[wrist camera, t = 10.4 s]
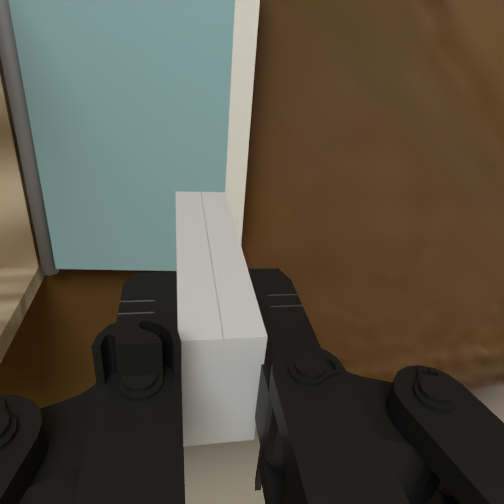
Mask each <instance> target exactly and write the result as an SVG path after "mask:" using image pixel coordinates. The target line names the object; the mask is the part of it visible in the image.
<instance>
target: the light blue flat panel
mask: <svg viewBox="0 0 504 504" xmlns="http://www.w3.org/2000/svg"><path fill="white" fill-rule="evenodd" d="M259 5H260V0H0V56H1V61H2V66H3V72H4V77H5V82H6V87H7V92H8V97H9V102H10V107H11V112H12V118H13V123H14V128H15V133H16V138H17V143H18V148H19V153H20V159H21V164H22V169H23V174H24V179H25V184H26V189H27V194H28V199H29V205H30V210H31V215H32V220H33V225H34V230H35V235H36V240H37V246H38V251H39V256H40V261H41V266H42V271H43V274H44V275H48V276H50V275H55V274H57V273H59V271H60V269H86V270H147V271H176V192H175V191H182V192H225V193H226V196H227V200H228V203H229V207H230V210H231V214H232V217H233V220H234V224H235V227H236V231H237V234H238V238H239V241H240V244H241V240H242V227H243V213H244V200H245V187H246V174H247V161H248V148H249V135H250V122H251V109H252V96H253V83H254V70H255V57H256V44H257V31H258V18H259Z"/></svg>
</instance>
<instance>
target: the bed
mask: <svg viewBox="0 0 504 504" xmlns="http://www.w3.org/2000/svg"><path fill="white" fill-rule="evenodd" d="M44 277H45V275H44V274H43V271H42V266H41V261H40V256H39V251H38V246H37V240H36V235H35V230H34V225H33V220H32V215H31V210H30V205H29V199H28V194H27V189H26V184H25V179H24V174H23V169H22V164H21V159H20V153H19V148H18V143H17V138H16V133H15V128H14V123H13V118H12V112H11V107H10V102H9V97H8V92H7V87H6V82H5V77H4V72H3V66H2V61H1V56H0V363H1V361H2V359H3V357H4V356H5V354H6V352H7V350H8V348H9V346H10V344H11V342H12V340H13V338H14V336H15V334H16V332H17V330H18V328H19V326H20V324H21V322H22V320H23V318H24V316H25V314H26V312H27V310H28V308H29V306H30V304H31V303H32V301H33V299H34V297H35V295H36V293H37V291H38V289H39V287H40V285H41V283H42V281H43V279H44Z"/></svg>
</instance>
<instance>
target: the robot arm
mask: <svg viewBox="0 0 504 504" xmlns="http://www.w3.org/2000/svg"><path fill="white" fill-rule="evenodd" d="M175 192H176V272H144V273H134V274H133V275H132V276H131V277H130V278H129V279H128V280H127V282H126V283H125V284H124V285H123V289H122V294H121V303H120V305H119V311H118V317H117V322H116V323H113V324H111V325H109V326H108V327H106V328H105V329H104V330H103V331H102V332H100V333H99V334H98V335H97V337H96V339H95V341H94V342H93V344H92V346H91V347H92V353H93V360H94V367H95V374H96V381H97V383H96V384H95V385H94V386H92V387H91V388H90V389H88V390H87V391H85V392H83V393H82V394H80V395H78V396H75V397H73V398H71V399H68V400H65V401H62V402H59V403H56V404H53V405H50V406H47V407H44V408H41V409H40V408H39V407H38V406H37V405H36V404H35V403H34V402H33V401H32V400H30V399H27V398H24V397H20V396H17V395H13V396H0V504H185V484H184V452H183V451H184V449H183V447H184V446H194V445H204V444H215V443H224V442H234V441H235V442H236V441H246V440H254V435H255V428H256V426H257V431H258V436H259V441H260V451H259V457H258V465H257V471H256V478H255V490H261V484H262V488H263V493H264V498H265V504H504V423H503V422H502V421H501V420H500V419H499V418H498V417H497V416H496V415H495V414H493V413H492V412H491V411H490V410H489V409H488V408H487V407H486V406H485V405H484V404H483V403H482V402H481V401H479V400H478V399H477V398H476V397H475V396H474V395H473V394H472V393H471V392H470V391H469V390H468V389H466V388H465V387H464V386H463V385H462V384H461V383H460V382H458V381H457V380H455V379H454V378H453V377H451V376H450V375H448V374H446V373H444V372H442V371H439V370H437V369H435V368H431V367H426V366H420V365H417V366H408V367H405V368H403V369H402V370H400V371H398V372H397V374H396V376H395V378H394V381H393V383H392V382H387V381H382V380H377V379H372V378H366V377H362V376H358V375H355V374H352V373H349V372H347V371H346V370H345V368H344V366H343V365H342V364H341V362H340V361H339V360H338V358H336V357H335V356H333V355H332V354H331V353H329V352H328V351H326V350H324V349H321V347H320V345H319V342H318V340H317V338H316V336H315V333H314V331H313V329H312V327H311V324H310V322H309V320H308V317H307V315H306V313H305V311H304V308H303V307H302V306H301V302H300V299H299V297H298V295H297V293H296V290H295V288H294V286H293V283H292V281H291V279H289V278H288V277H287V276H286V275H285V274H284V273H283V272H281V271H280V270H279V269H278V268H277V269H248V268H247V265H246V261H245V258H244V255H243V251H242V248H241V244H240V241H239V238H238V234H237V231H236V227H235V224H234V220H233V217H232V214H231V210H230V207H229V203H228V200H227V196H226V193H225V192H182V191H175Z"/></svg>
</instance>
